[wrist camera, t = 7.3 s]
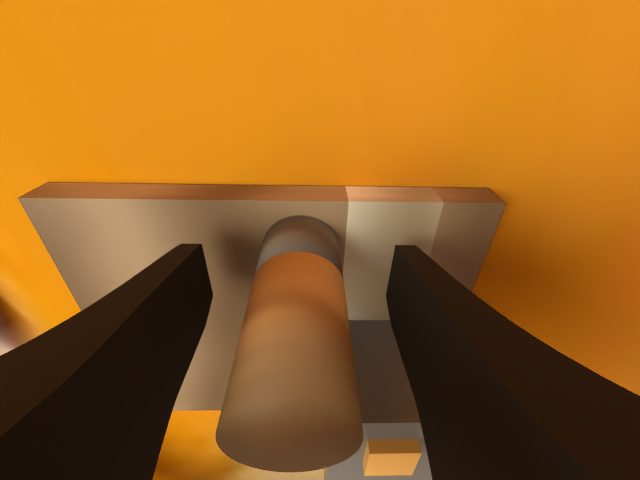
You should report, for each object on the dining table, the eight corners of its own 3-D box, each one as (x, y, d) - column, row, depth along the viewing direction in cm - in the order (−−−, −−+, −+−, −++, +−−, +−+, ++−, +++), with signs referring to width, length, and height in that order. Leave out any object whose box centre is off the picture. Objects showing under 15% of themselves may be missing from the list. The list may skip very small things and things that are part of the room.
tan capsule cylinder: (265, 277, 11) (226, 472, 6) (259, 214, 10) (202, 401, 5) (336, 277, 11) (357, 471, 6) (341, 215, 10) (371, 399, 5)
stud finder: (321, 401, 16) (325, 512, 12) (325, 320, 12) (331, 438, 9) (399, 401, 16) (426, 510, 12) (423, 320, 13) (470, 436, 9)
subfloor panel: (148, 388, 17) (137, 411, 16) (46, 182, 10) (17, 197, 9) (419, 386, 17) (426, 408, 16) (488, 188, 11) (506, 203, 10)
